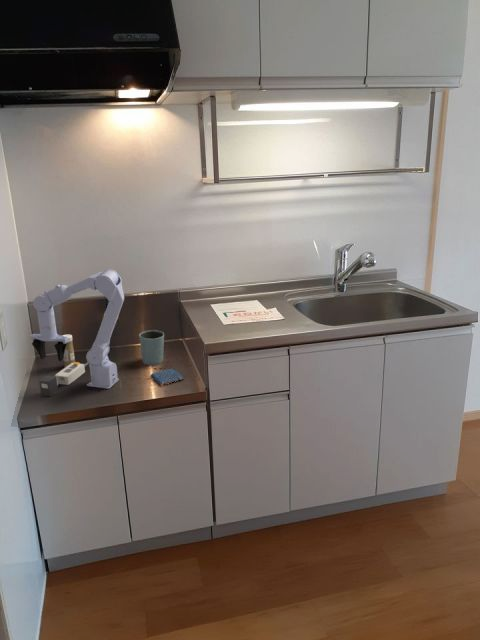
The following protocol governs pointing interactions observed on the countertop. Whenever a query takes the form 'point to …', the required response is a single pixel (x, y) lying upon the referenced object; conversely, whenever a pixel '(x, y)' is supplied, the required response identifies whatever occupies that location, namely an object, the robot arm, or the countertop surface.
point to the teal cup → (152, 346)
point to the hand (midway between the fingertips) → (52, 358)
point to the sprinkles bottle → (69, 351)
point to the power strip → (70, 373)
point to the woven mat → (166, 376)
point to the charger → (48, 385)
